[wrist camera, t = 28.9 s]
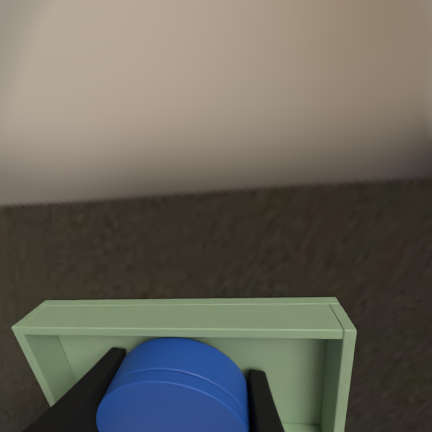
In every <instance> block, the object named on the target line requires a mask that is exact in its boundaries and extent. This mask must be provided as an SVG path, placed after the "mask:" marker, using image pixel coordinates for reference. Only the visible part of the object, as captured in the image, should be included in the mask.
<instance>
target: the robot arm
mask: <svg viewBox="0 0 432 432" xmlns="http://www.w3.org/2000/svg"><path fill="white" fill-rule="evenodd" d="M125 357H126V351H125V349H122V348H116V347H112V348H111V349H110V350H109V351H108V352H107V353H106V354H105V355H104V356H103V357H102V358H101V359H100V360H99V361H98V362H97V363H96V364H95V365H94V366H93V367H92V368H91V369H90V370H89V371H88V372H87V373H86V374H85V375H84V376H83V377H82V378H81V379H80V380H79V381H78V382H77V383H76V384H75V385H74V386H73V387H72V388H71V389H69V390H68V391H67V392H66V393H65V394H64V395H63V396H62V397H61V398H60V399H59V400H58V401H57V402H56V403H55V404H54V405H52V406H51V407H50V408H49V409H48V410H47V411H46V412H45V413H44V414H42V415H41V416H40V417H39V418H38V419H37V420H36V421H35V422H34V423H32V424H31V425H30V426H29V427H28V428H27V429H25V430H24V431H23V432H99V431H98V428H97V424H96V414H97V409H98V407H99V404H100V402H101V400H102V398H103V397H104V395H105V393H106V391H107V389H108V387H109V385H110V384H111V382H112V380H113V378H114V376H115V374H116V372H117V371H118V369H119V367H120V365H121V363H122V361H123V360H124V358H125ZM247 387H248V399H249V422H250V432H285V430H284V428H283V425H282V423H281V420H280V417H279V414H278V411H277V408H276V406H275V403H274V400H273V396H272V393H271V390H270V387H269V383H268V380H267V376H266V373H265V372H264V371H260V370H254V369H250V371H249V376H248V382H247Z"/></svg>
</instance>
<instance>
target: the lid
mask: <svg viewBox="0 0 432 432" xmlns="http://www.w3.org/2000/svg"><path fill="white" fill-rule="evenodd" d="M96 424H97V428H98V431H99V432H250V422H249V399H248V387H247V383H246V380H245V378H244V376H243V374H242V372H241V371H240V369H239V368H238V366H237V365H236V364H235V363H234V362H233V361H232V360H231V359H230V358H229V357H228V356H226V355H225V354H223V353H222V352H221V351H219V350H218V349H216V348H214V347H212V346H209V345H207V344H205V343H202V342H199V341H195V340H192V339H186V338H178V337H163V338H158V339H153V340H150V341H147V342H144V343H141V344H140V345H138V346H137V347H135V348H134V349H132V350H131V351H130V352H129V353H128V354H127V355H126V357H125V358H124V360H123V361H122V363H121V365H120V367H119V369H118V371H117V372H116V374H115V376H114V378H113V380H112V382H111V384H110V385H109V387H108V389H107V391H106V393H105V395H104V397H103V398H102V400H101V402H100V404H99V407H98V409H97V414H96Z"/></svg>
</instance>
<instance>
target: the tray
mask: <svg viewBox="0 0 432 432" xmlns="http://www.w3.org/2000/svg"><path fill="white" fill-rule="evenodd" d="M12 330H13V332H14V334H15V336H16V338H17V340H18V342H19V344H20V346H21V348H22V350H23V352H24V354H25V356H26V358H27V360H28V362H29V364H30V366H31V368H32V370H33V372H34V374H35V376H36V378H37V380H38V382H39V384H40V387H41V389H42V391H43V393H44V395H45V397H46V399H47V401H48V403H49V405H50V407H51V406H52V405H54V404H55V403H56V402H57V401H58V400H59V399H60V398H61V397H62V396H63V395H64V394H65V393H66V392H67V391H68V390H69V389H71V388H72V387H73V386H74V385H75V384H76V383H77V382H78V381H79V380H80V379H81V378H82V377H83V376H84V375H85V374H86V373H87V372H88V371H89V370H90V369H91V368H92V367H93V366H94V365H95V364H96V363H97V362H98V361H99V360H100V359H101V358H102V357H103V356H104V355H105V354H106V353H107V352H108V351H109V350H110V349H111V348H112V347H116V348H122V349H125V351H126V355H127V354H128V353H129V352H130V351H131V350H132V349H134V348H135V347H137V346H138V345H140V344H141V343H144V342H147V341H150V340H153V339H158V338H163V337H178V338H186V339H192V340H195V341H199V342H202V343H205V344H207V345H209V346H212V347H214V348H216V349H218V350H219V351H221V352H222V353H223V354H225V355H226V356H228V357H229V358H230V359H231V360H232V361H233V362H234V363H235V364H236V365H237V366H238V368H239V369H240V371H241V372H242V374H243V376H244V378H245V380H246V383H247V382H248V376H249V371H250V369H254V370H260V371H264V372H265V373H266V376H267V380H268V383H269V387H270V390H271V393H272V396H273V400H274V403H275V406H276V408H277V411H278V414H279V417H280V420H281V423H282V425H283V428H284V430H285V432H344V426H345V418H346V410H347V402H348V395H349V387H350V379H351V371H352V363H353V355H354V348H355V340H356V332H357V330H356V328H355V327H354V325H353V324H352V322H351V321H350V319H349V318H348V316H347V314H346V313H345V311H344V310H343V308H342V307H341V305H340V304H339V302H338V300H337V299H336V298H335V297H301V298H209V299H118V300H46V301H44V302H43V303H42V304H40V305H39V306H38V307H37V308H35V309H34V310H33V311H32V312H30V313H29V314H28V315H26V316H25V317H24V318H23V319H21V320H20V321H19V322H18V323H16V324H15V325H14V326H13V327H12Z"/></svg>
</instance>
